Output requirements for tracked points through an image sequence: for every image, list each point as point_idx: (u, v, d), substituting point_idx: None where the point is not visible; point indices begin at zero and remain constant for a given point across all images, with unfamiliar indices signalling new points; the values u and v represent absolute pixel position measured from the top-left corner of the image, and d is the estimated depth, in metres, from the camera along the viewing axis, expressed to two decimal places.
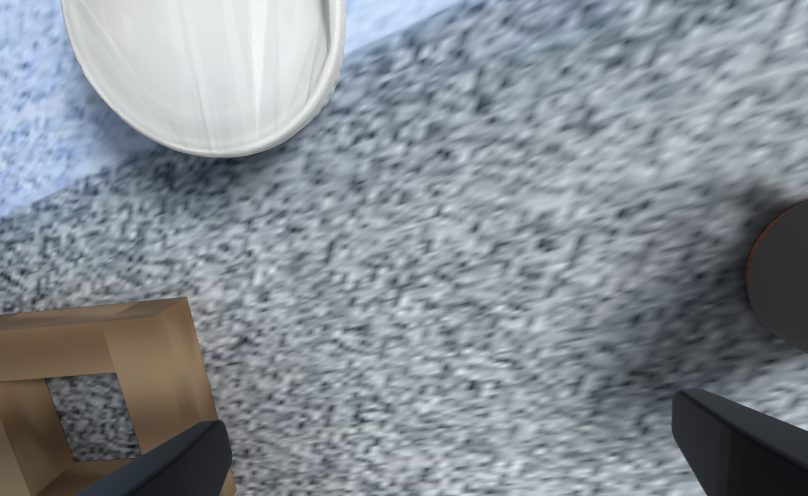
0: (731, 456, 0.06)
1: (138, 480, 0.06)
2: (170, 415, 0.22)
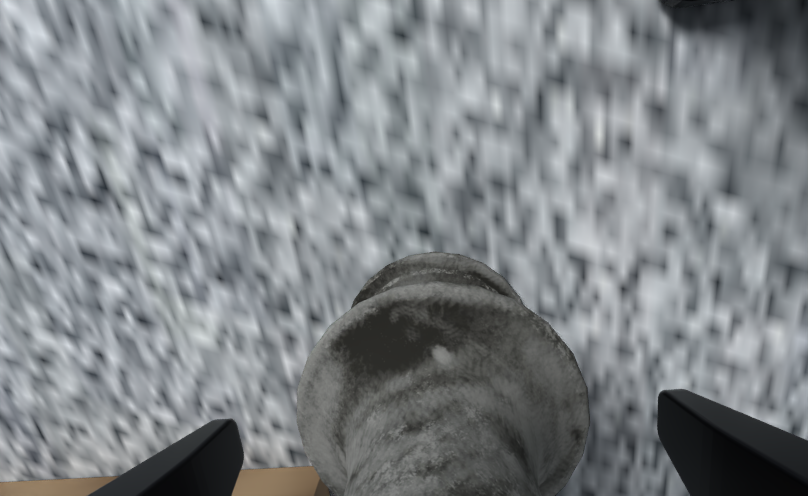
0: (713, 457, 0.06)
1: (153, 479, 0.06)
2: None
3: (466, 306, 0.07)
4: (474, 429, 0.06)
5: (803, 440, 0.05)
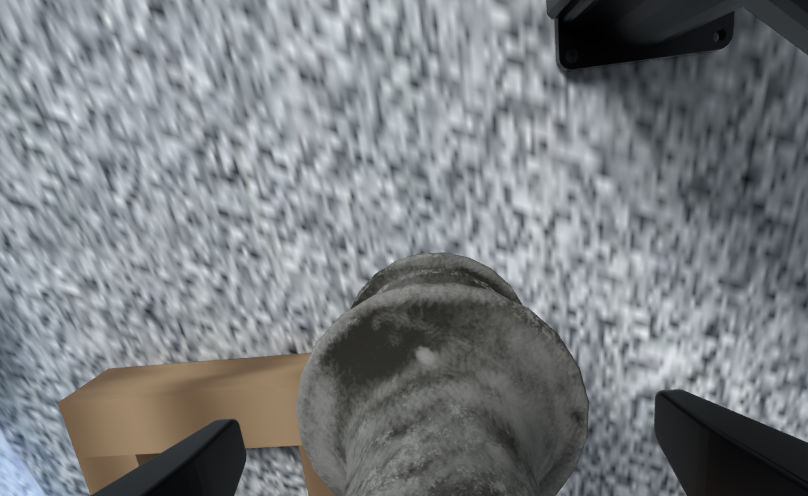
0: (709, 457, 0.06)
1: (156, 479, 0.06)
2: (179, 405, 0.18)
3: (444, 304, 0.07)
4: (459, 425, 0.06)
5: (798, 440, 0.05)
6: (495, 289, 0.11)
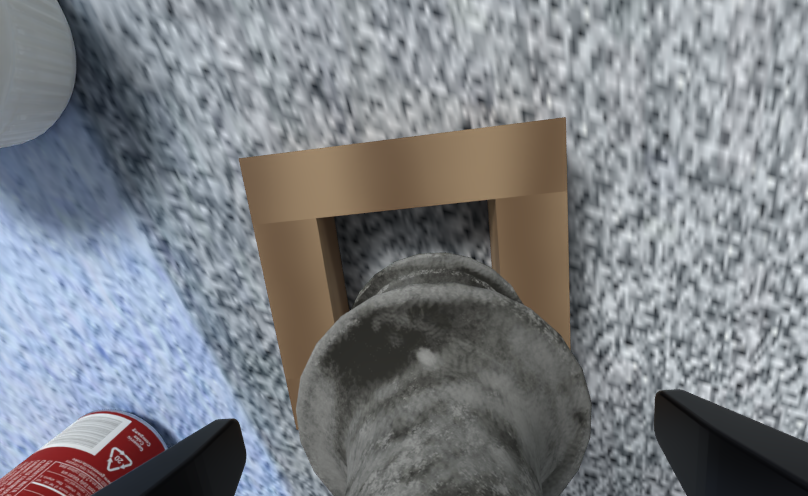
0: (709, 457, 0.06)
1: (157, 479, 0.06)
2: (371, 155, 0.17)
3: (445, 304, 0.07)
4: (461, 426, 0.06)
5: (798, 440, 0.05)
6: (496, 289, 0.11)
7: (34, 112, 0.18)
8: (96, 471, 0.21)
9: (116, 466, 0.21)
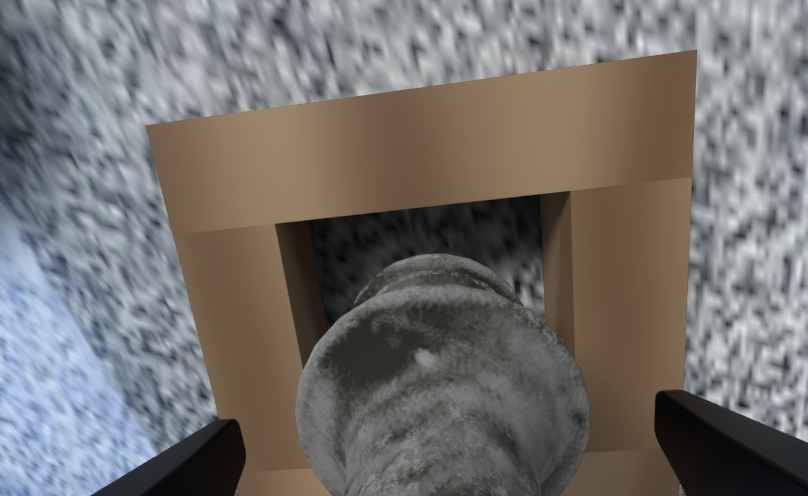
0: (709, 457, 0.06)
1: (157, 479, 0.06)
2: (364, 118, 0.10)
3: (443, 305, 0.07)
4: (459, 429, 0.06)
5: (798, 440, 0.05)
6: (495, 290, 0.11)
7: None
8: None
9: None
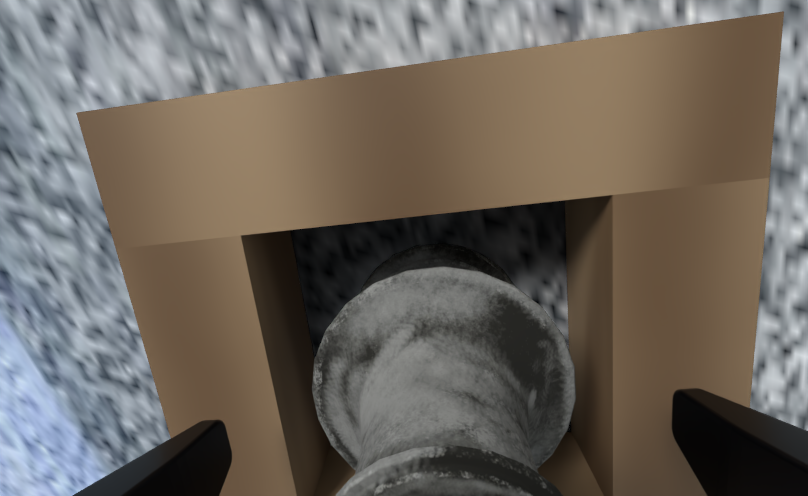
0: (731, 456, 0.06)
1: (138, 480, 0.06)
2: (351, 103, 0.08)
3: (561, 396, 0.09)
4: None
5: None
6: None
7: None
8: None
9: None
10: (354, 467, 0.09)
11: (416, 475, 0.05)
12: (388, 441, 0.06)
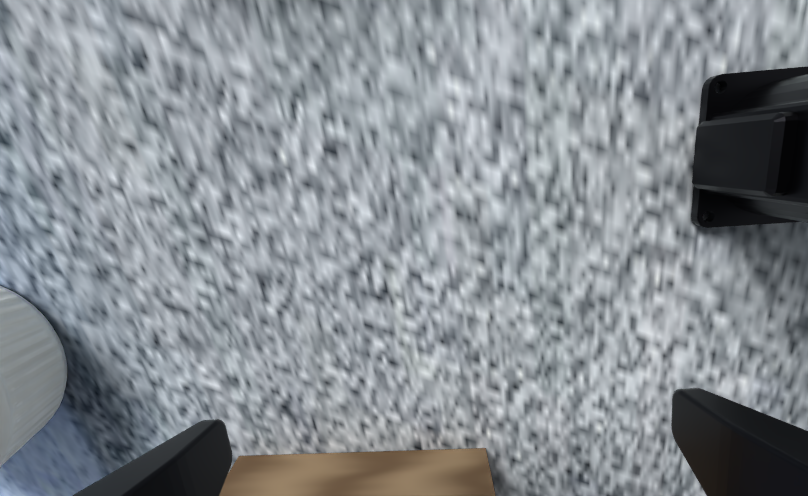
0: (731, 456, 0.06)
1: (138, 480, 0.06)
2: None
3: None
4: None
5: None
6: None
7: (26, 441, 0.20)
8: None
9: None
10: None
11: None
12: None
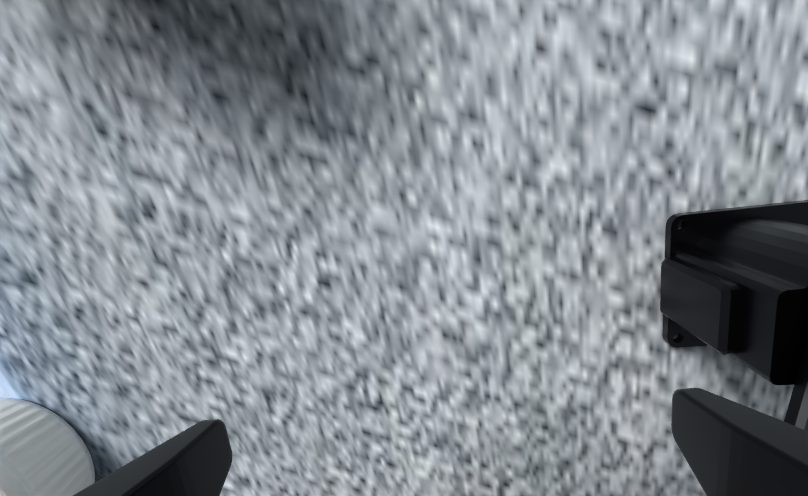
0: (731, 456, 0.06)
1: (138, 480, 0.06)
2: None
3: None
4: None
5: None
6: None
7: None
8: None
9: None
10: None
11: None
12: None
